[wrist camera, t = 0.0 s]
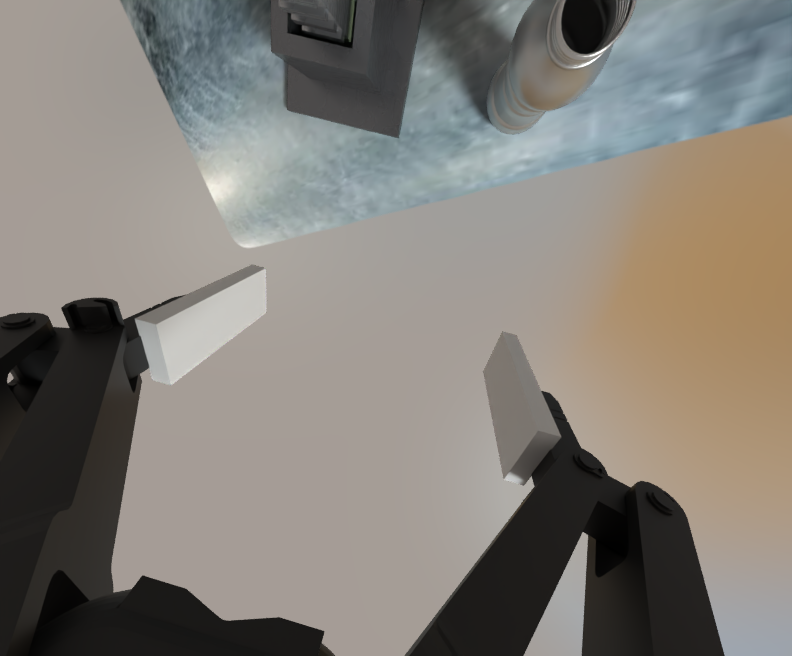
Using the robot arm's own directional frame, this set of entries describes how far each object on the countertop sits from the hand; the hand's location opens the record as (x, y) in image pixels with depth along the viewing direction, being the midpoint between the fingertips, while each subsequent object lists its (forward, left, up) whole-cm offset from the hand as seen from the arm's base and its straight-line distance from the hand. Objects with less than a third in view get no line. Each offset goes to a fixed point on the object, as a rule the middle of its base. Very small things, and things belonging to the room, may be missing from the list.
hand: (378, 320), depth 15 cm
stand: (-18, -12, -28) cm, 36 cm away
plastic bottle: (-16, +7, -28) cm, 33 cm away
